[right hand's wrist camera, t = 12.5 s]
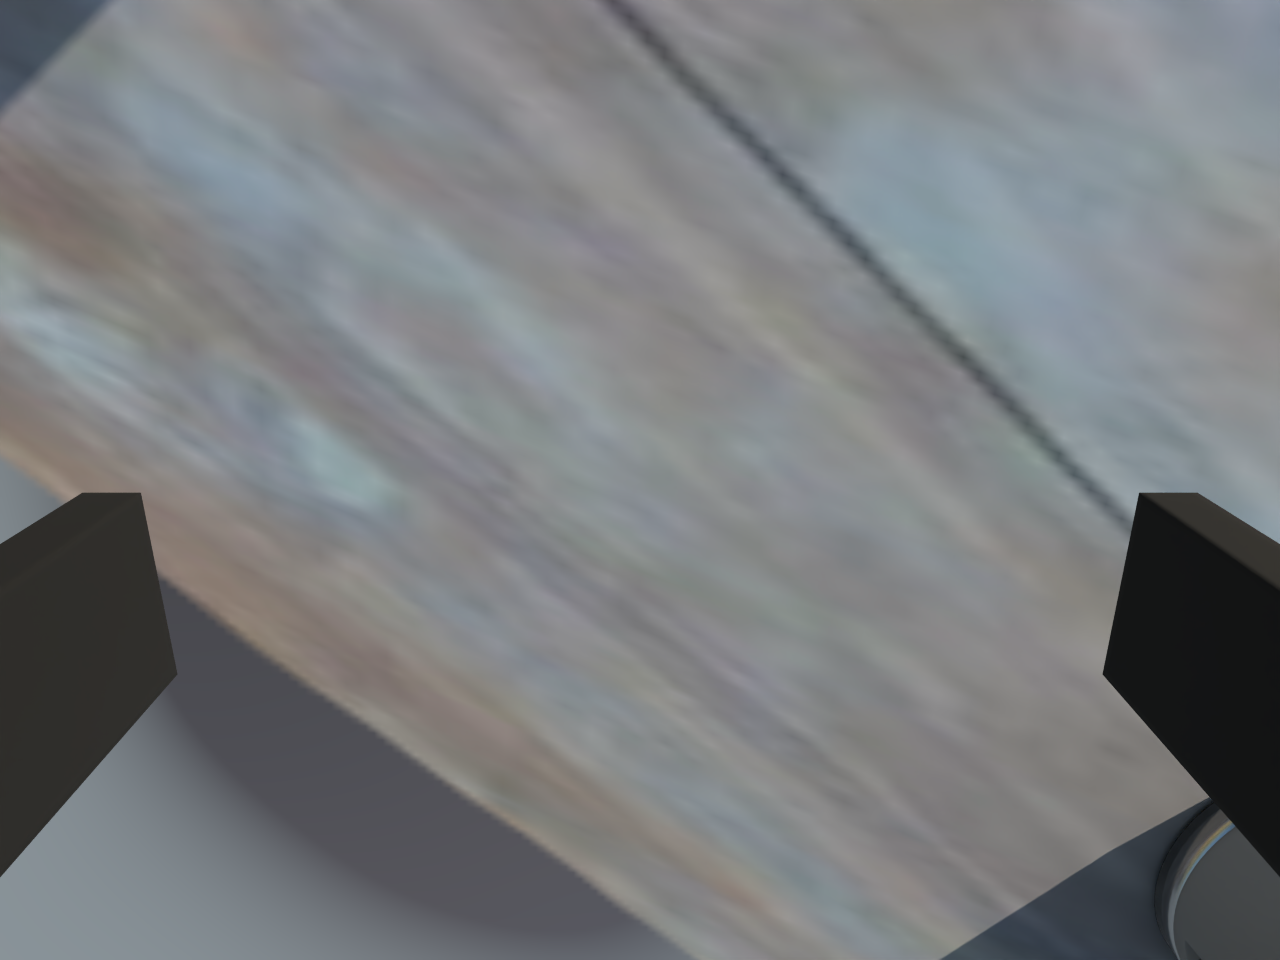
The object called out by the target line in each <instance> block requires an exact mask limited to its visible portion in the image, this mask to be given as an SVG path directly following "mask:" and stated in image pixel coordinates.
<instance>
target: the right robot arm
mask: <svg viewBox="0 0 1280 960" xmlns="http://www.w3.org/2000/svg"><path fill="white" fill-rule="evenodd" d="M176 675H177V670H176V665H175V660H174V655H173V650H172V645H171V640H170V635H169V630H168V626H167V620H166V616H165V611H164V606H163V601H162V596H161V591H160V586H159V581H158V576H157V571H156V566H155V561H154V556H153V551H152V546H151V541H150V536H149V531H148V526H147V521H146V516H145V511H144V506H143V501H142V496H141V493H81V494H80V495H78V496H77V497H75V498H73V499H72V500H70V501H69V502H67V503H65V504H64V505H62V506H61V507H59V508H57V509H56V510H54V511H53V512H51V513H49V514H48V515H46V516H45V517H43V518H41V519H40V520H38V521H37V522H35V523H33V524H32V525H30V526H29V527H27V528H25V529H24V530H22V531H21V532H19V533H17V534H16V535H14V536H13V537H11V538H9V539H8V540H6V541H5V542H3V543H1V544H0V877H1V876H2V875H3V873H4V872H5V871H6V870H7V869H8V868H9V867H10V865H11V864H12V863H13V862H14V861H15V860H16V859H17V857H18V856H19V855H20V854H21V853H22V852H23V851H24V849H25V848H26V847H27V846H28V845H29V844H30V843H31V841H32V840H33V839H34V838H35V837H36V836H37V834H38V833H39V832H40V831H41V830H42V829H43V828H44V826H45V825H46V824H47V823H48V822H49V821H50V820H51V818H52V817H53V816H54V815H55V814H56V813H57V812H58V810H59V809H60V808H61V807H62V806H63V805H64V804H65V802H66V801H67V800H68V799H69V798H70V797H71V795H72V794H73V793H74V792H75V791H76V790H77V789H78V788H79V786H80V785H81V784H82V783H83V782H84V781H85V780H86V778H87V777H88V776H89V775H90V774H91V773H92V771H93V770H94V769H95V768H96V767H97V766H98V765H99V763H100V762H101V761H102V760H103V759H104V758H105V757H106V755H107V754H108V753H109V752H110V751H111V750H112V749H113V747H114V746H115V745H116V744H117V743H118V742H119V741H120V739H121V738H122V737H123V736H124V735H125V734H126V733H127V731H128V730H129V729H130V728H131V727H132V726H133V725H134V723H135V722H136V721H137V720H138V719H139V718H140V717H141V715H142V714H143V713H144V712H145V711H146V710H147V709H148V707H149V706H150V705H151V704H152V703H153V702H154V700H155V699H156V698H157V697H158V696H159V695H160V694H161V692H162V691H163V690H164V689H165V688H166V687H167V686H168V684H169V683H170V682H171V681H172V680H173V679H174V678H175V676H176ZM1103 675H1104V676H1105V678H1106V679H1107V680H1108V681H1109V682H1110V683H1111V684H1112V686H1113V687H1114V688H1115V689H1116V690H1117V691H1118V692H1119V694H1120V695H1121V696H1122V697H1123V698H1124V699H1125V700H1126V702H1127V703H1128V704H1129V705H1130V706H1131V707H1132V709H1133V710H1134V711H1135V712H1136V713H1137V714H1138V715H1139V717H1140V718H1141V719H1142V720H1143V721H1144V722H1145V723H1146V725H1147V726H1148V727H1149V728H1150V729H1151V730H1152V731H1153V733H1154V734H1155V735H1156V736H1157V737H1158V738H1159V739H1160V741H1161V742H1162V743H1163V744H1164V745H1165V746H1166V747H1167V749H1168V750H1169V751H1170V752H1171V753H1172V754H1173V755H1174V757H1175V758H1176V759H1177V760H1178V761H1179V762H1180V763H1181V765H1182V766H1183V767H1184V768H1185V769H1186V770H1187V772H1188V773H1189V774H1190V775H1191V776H1192V777H1193V778H1194V780H1195V781H1196V782H1197V783H1198V784H1199V785H1200V786H1201V788H1202V789H1203V790H1204V791H1205V792H1206V793H1207V794H1208V796H1209V797H1210V798H1211V799H1212V800H1213V801H1214V803H1213V804H1212V805H1210V806H1209V807H1208V808H1206V809H1205V810H1204V811H1203V812H1202V813H1201V814H1200V815H1199V816H1197V817H1196V818H1195V819H1194V820H1193V821H1192V822H1191V823H1190V824H1189V825H1188V827H1187V828H1186V829H1185V830H1184V831H1183V832H1182V834H1181V835H1180V836H1179V837H1178V839H1177V840H1176V841H1175V843H1174V845H1173V846H1172V848H1171V849H1170V851H1169V853H1168V855H1167V856H1166V858H1165V860H1164V862H1163V865H1162V867H1161V870H1160V873H1159V876H1158V880H1157V884H1156V890H1155V913H1156V918H1157V922H1158V926H1159V928H1160V931H1161V933H1162V935H1163V937H1164V939H1165V941H1166V942H1167V944H1168V945H1169V947H1170V949H1171V950H1172V952H1173V953H1174V955H1175V956H1176V958H1177V959H1178V960H1280V544H1279V543H1277V542H1275V541H1274V540H1272V539H1271V538H1269V537H1267V536H1266V535H1264V534H1263V533H1261V532H1259V531H1258V530H1256V529H1255V528H1253V527H1251V526H1250V525H1248V524H1247V523H1245V522H1243V521H1242V520H1240V519H1239V518H1237V517H1235V516H1234V515H1232V514H1231V513H1229V512H1227V511H1226V510H1224V509H1223V508H1221V507H1219V506H1218V505H1216V504H1215V503H1213V502H1211V501H1210V500H1208V499H1207V498H1205V497H1203V496H1202V495H1200V494H1199V493H1139V496H1138V501H1137V506H1136V511H1135V516H1134V521H1133V526H1132V531H1131V536H1130V541H1129V546H1128V551H1127V556H1126V561H1125V566H1124V571H1123V576H1122V581H1121V586H1120V591H1119V596H1118V601H1117V606H1116V610H1115V615H1114V620H1113V625H1112V630H1111V635H1110V640H1109V645H1108V650H1107V655H1106V660H1105V665H1104V670H1103Z"/></svg>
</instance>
